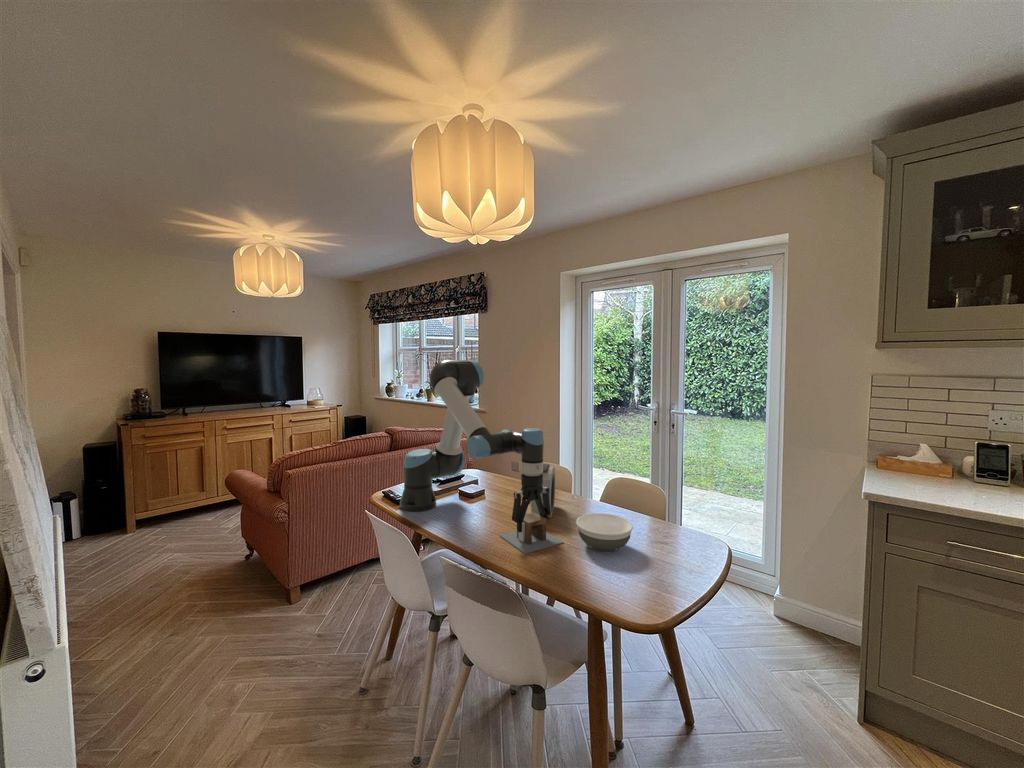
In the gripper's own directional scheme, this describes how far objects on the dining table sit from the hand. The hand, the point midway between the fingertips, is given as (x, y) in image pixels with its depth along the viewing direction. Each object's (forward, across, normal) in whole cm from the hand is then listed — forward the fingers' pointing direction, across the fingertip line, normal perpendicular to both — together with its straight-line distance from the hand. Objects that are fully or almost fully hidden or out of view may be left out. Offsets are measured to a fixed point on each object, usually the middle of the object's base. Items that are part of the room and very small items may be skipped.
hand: (531, 537), depth 148 cm
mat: (+1, 0, 0) cm, 1 cm away
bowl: (+1, +18, -17) cm, 25 cm away
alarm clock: (+1, +20, +20) cm, 28 cm away
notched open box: (0, 0, 0) cm, 0 cm away
